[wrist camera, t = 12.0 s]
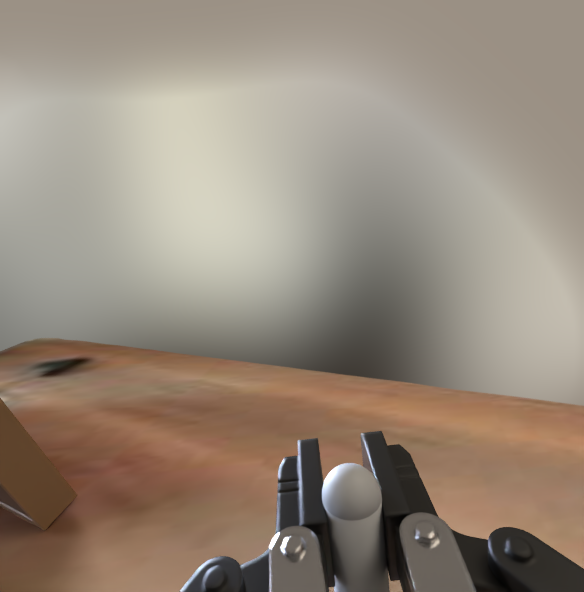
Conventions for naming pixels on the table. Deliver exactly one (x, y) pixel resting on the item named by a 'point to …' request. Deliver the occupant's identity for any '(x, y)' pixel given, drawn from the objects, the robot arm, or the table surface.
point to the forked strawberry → (356, 529)
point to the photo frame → (29, 476)
